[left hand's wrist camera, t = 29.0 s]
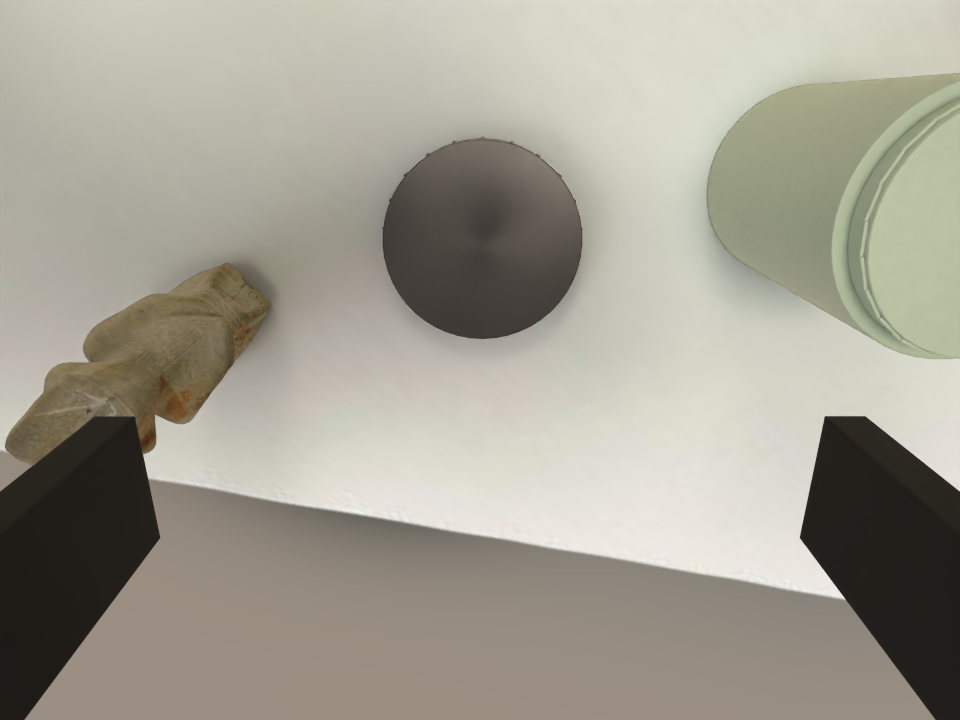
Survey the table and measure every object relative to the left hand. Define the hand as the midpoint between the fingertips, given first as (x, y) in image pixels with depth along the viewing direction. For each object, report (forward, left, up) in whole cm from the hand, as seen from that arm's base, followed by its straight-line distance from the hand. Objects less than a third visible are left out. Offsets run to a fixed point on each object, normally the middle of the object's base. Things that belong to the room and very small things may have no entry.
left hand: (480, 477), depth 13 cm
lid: (0, 0, -25) cm, 25 cm away
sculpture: (-14, -7, -26) cm, 30 cm away
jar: (+17, +6, -26) cm, 31 cm away
